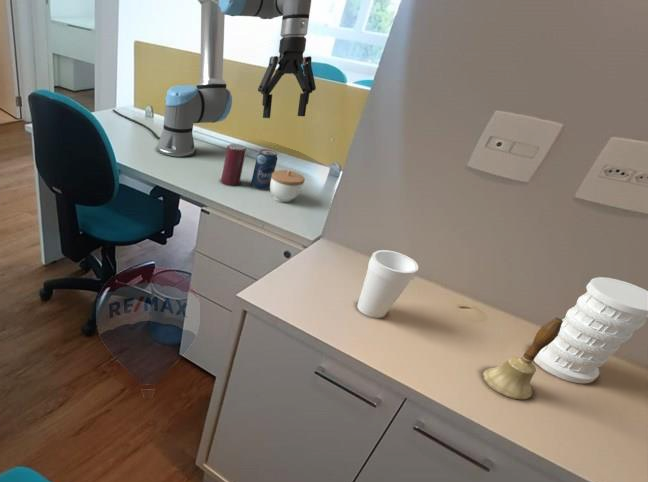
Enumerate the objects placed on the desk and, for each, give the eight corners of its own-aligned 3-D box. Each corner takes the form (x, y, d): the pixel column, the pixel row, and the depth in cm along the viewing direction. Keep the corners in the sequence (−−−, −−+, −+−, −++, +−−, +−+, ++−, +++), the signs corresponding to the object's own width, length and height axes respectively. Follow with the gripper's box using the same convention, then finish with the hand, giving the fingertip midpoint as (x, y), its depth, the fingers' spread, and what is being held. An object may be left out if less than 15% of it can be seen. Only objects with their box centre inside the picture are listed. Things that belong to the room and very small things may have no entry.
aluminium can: (217, 179, 160) (223, 144, 152) (233, 178, 163) (240, 143, 155) (226, 186, 156) (233, 150, 148) (242, 185, 158) (250, 149, 150)
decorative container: (609, 383, 89) (685, 312, 78) (558, 383, 88) (627, 312, 77) (564, 345, 98) (626, 276, 87) (516, 345, 97) (573, 275, 85)
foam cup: (345, 296, 107) (366, 248, 99) (383, 299, 107) (407, 251, 99) (358, 320, 100) (382, 271, 92) (398, 323, 100) (426, 274, 92)
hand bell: (487, 391, 85) (540, 327, 75) (479, 364, 91) (527, 301, 81) (536, 405, 83) (597, 341, 73) (524, 376, 89) (579, 313, 79)
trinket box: (299, 207, 147) (307, 179, 140) (266, 202, 148) (273, 174, 142) (297, 194, 155) (305, 167, 149) (266, 190, 156) (273, 163, 150)
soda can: (255, 190, 155) (264, 155, 147) (247, 183, 160) (254, 148, 152) (273, 190, 157) (282, 155, 149) (264, 182, 162) (272, 148, 154)
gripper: (266, 35, 124) (258, 119, 134) (335, 36, 132) (323, 115, 143) (250, 37, 130) (244, 118, 140) (317, 39, 138) (307, 115, 149)
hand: (284, 117), depth 141 cm, fingers open, 13 cm apart
